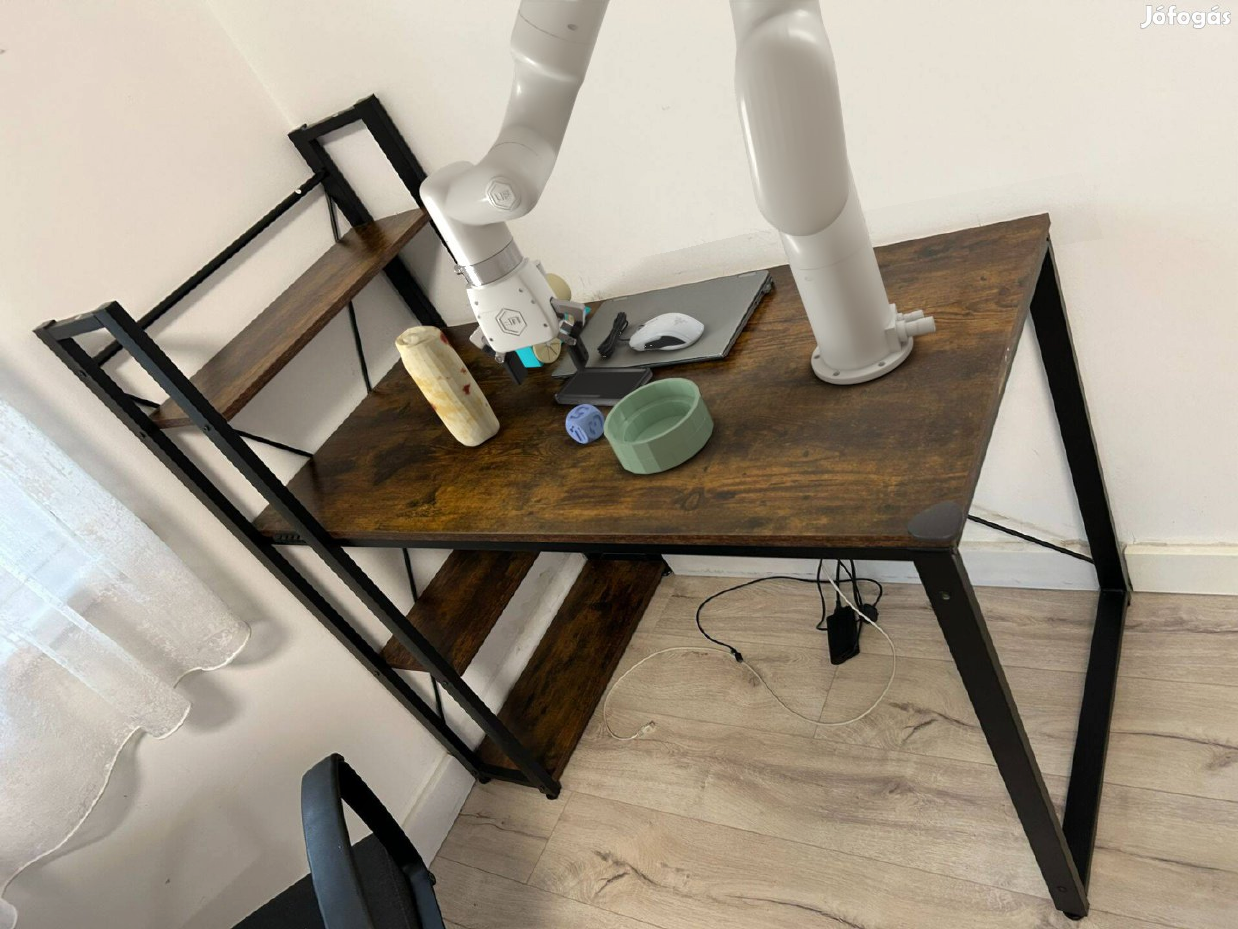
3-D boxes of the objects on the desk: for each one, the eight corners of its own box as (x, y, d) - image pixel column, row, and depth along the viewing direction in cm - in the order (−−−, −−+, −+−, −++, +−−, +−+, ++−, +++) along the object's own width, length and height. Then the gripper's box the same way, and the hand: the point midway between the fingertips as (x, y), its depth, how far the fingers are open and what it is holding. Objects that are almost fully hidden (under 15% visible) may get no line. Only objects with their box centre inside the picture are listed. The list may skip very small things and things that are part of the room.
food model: (513, 420, 137) (447, 315, 126) (490, 449, 133) (420, 342, 122) (470, 422, 142) (403, 322, 132) (447, 450, 138) (376, 348, 128)
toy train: (597, 312, 154) (559, 238, 146) (547, 370, 145) (503, 294, 137) (564, 315, 159) (525, 244, 151) (513, 372, 150) (470, 299, 142)
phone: (579, 366, 138) (652, 366, 128) (582, 372, 139) (655, 372, 129) (551, 398, 134) (624, 400, 124) (554, 404, 135) (627, 406, 125)
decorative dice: (573, 442, 124) (560, 420, 122) (590, 424, 126) (577, 402, 124) (592, 445, 121) (580, 423, 119) (609, 426, 123) (597, 404, 121)
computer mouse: (691, 354, 129) (681, 332, 126) (595, 363, 140) (584, 343, 137) (717, 315, 134) (708, 293, 132) (622, 326, 145) (612, 306, 143)
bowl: (722, 401, 116) (707, 369, 113) (705, 467, 106) (689, 433, 103) (633, 420, 122) (617, 389, 119) (610, 484, 112) (592, 452, 109)
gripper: (425, 295, 109) (490, 401, 119) (542, 259, 102) (602, 376, 111) (448, 265, 115) (508, 369, 124) (561, 230, 107) (616, 343, 117)
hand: (552, 372), depth 118 cm, fingers open, 9 cm apart
